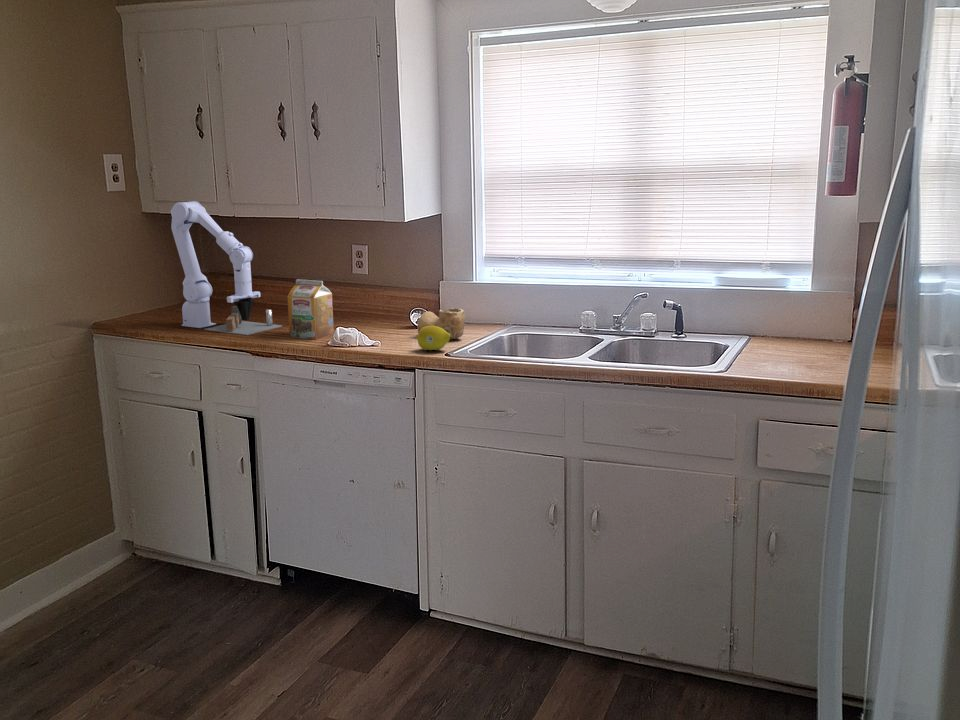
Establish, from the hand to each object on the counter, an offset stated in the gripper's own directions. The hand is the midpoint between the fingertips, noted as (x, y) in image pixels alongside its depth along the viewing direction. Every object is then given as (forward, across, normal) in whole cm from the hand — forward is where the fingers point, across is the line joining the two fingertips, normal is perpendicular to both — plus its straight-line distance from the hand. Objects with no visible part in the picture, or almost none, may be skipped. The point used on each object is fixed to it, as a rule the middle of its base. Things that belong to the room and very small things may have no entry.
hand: (245, 319), depth 309 cm
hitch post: (+3, +7, -5) cm, 9 cm away
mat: (+3, 0, +1) cm, 3 cm away
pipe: (+3, +18, -71) cm, 73 cm away
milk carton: (+3, +1, -29) cm, 29 cm away
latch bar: (+2, -2, +4) cm, 5 cm away
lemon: (+3, 0, -78) cm, 78 cm away
